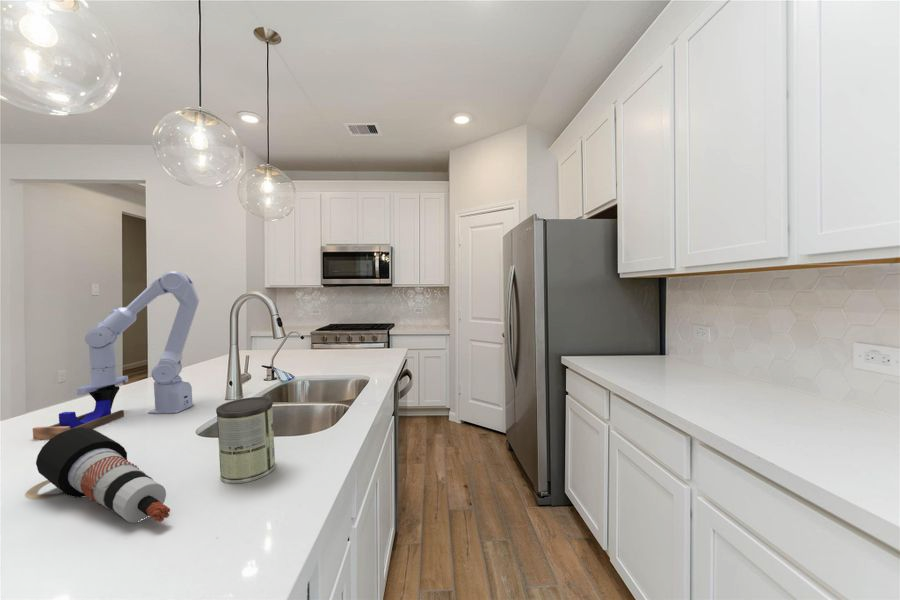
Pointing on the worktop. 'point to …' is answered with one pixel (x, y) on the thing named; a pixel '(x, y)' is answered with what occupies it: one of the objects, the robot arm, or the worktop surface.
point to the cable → (101, 474)
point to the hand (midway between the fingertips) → (105, 411)
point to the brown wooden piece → (54, 430)
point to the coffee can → (246, 439)
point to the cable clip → (100, 410)
